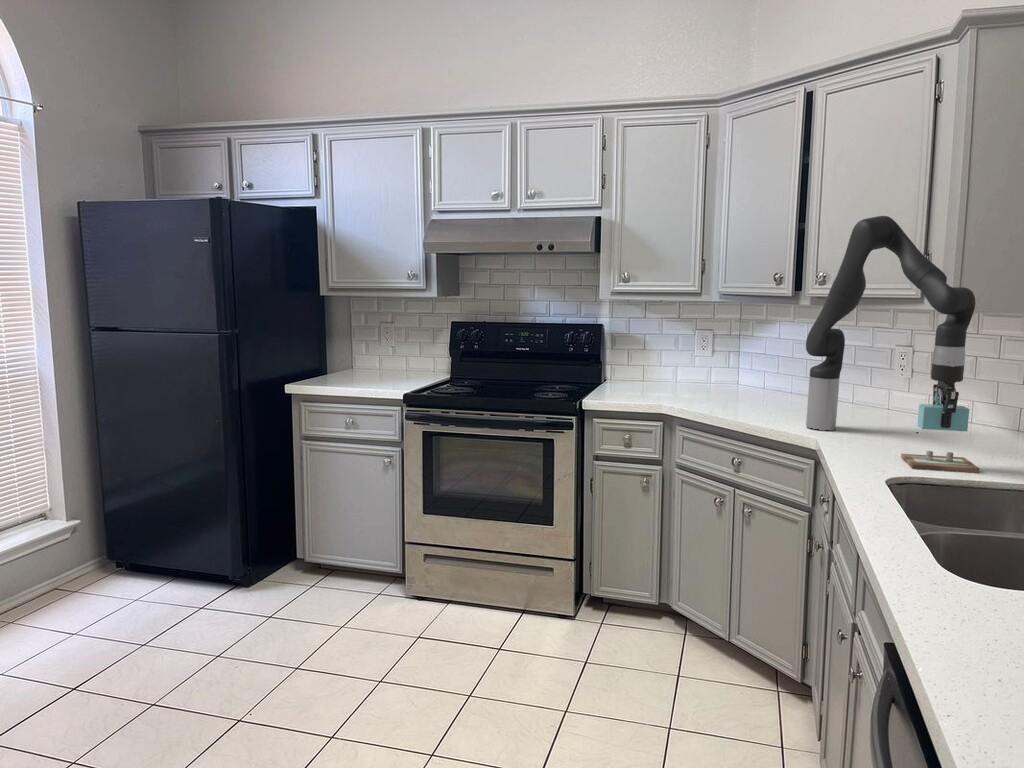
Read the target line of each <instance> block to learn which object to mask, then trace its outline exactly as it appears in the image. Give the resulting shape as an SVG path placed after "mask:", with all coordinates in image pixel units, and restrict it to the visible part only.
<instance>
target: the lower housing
mask: <svg viewBox="0 0 1024 768" xmlns="http://www.w3.org/2000/svg"><path fill="white" fill-rule="evenodd" d="M948 408H950V406H949V405H948ZM941 417H942V406H941V405H933V404H927V403H919V404H918V415H917V425H916V426H917V427H919V429H920V428H921V430H933V431H949V432H950V431H951V432H953V431H954V432H968V428H969V427H968V426H969V419H970V408H968V407H966V406H964V405H957V407H956V412H955V413H953V414H952V416H951V427H950V428H942V427H941Z"/></svg>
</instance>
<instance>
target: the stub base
mask: <svg viewBox="0 0 1024 768" xmlns="http://www.w3.org/2000/svg"><path fill="white" fill-rule="evenodd" d="M900 459H902V461H904V463H906V464H907V465H908V466H909V467H910V468H911V469H912V470H913V469H914V470H926V469H929V470H928V471H940V470H944V471H943V472H955V471H959V472H958V473H970V472H974V473H976V474H980V467H978V466H977V465H975V464H974V463H972V462H971V460H969V459H968V458H966V457H964V456H963V457H962V456H961V457H959V456H954V452H951V451H947V452H946V456H945V455H944V456H943V455H934V451H932V450H926V452H925V454H913V453H901V454H900Z"/></svg>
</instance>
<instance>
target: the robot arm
mask: <svg viewBox="0 0 1024 768" xmlns="http://www.w3.org/2000/svg"><path fill="white" fill-rule="evenodd" d="M885 248H886V249H888V250H889V251H891V252H892V253H894V254H895V255H896V256H897V258H898V260H899V262H900V266H901V269H902V272H903V274H904V276H905V277H906V279H907V280H909V281H910V283H912V284H913V285H914V286H915V287H916V288H917V289H918V290H919V291H921V292H922V293H923V296H924V297H925V298H926V300H927V302H928V303H929V304H930V306H931V307H932V308H933V309H934V310H935V311H936V312H938V313H940V314H944V315H946V318H945V321H943V322H942V323H940V324H938V325H937V327H936V329H935V339H934V347H933V351H932V360H931V361H932V362H931V371H930V379H931V380H933V381H935V382H937V383H936V384H935V383H934V384H933V386H932V389H933V390H932V393H933V394H932V400H933V401H932V405H941V406H942V417H941V427H942V428H950V427H951V416H952V414H953V413H955V412H956V407H957V406H958V400H959V395H960V393H959V391H957V389H956V387H955V386H956V385H955V383H962V381H964V372H965V363H966V341H967V331H968V328H969V325H970V324H971V321H972V318H973V316H974V312H975V309H976V297H975V294H974V292H973V291H972V290H971V289H970V288H968V287H964V286H963V287H960V286H959V287H957V286H955V287H952V286H950V285H949V284H948V283H947V281H948V277H947V275H946V274H945V273H944V272H943V271H942V270H941V269H940V268H939V267H938V266H937V265H935V264H934V263H933V262H932V261H930V259H928V257H926V256H925V255H924V254H923V253H922V251H920V249H918V247H917V246H916V245H915V243H914V242H913V241H912V240H911V239H910V238H909V237H908V234H906V233H905V231H904V230H903V229H902V228H901V226H900V225H899V224H898V223H897V222H896V220H895V219H893V218H891V217H890V216H889V215H878V216H873V217H867V218H863V219H861V220H859V221H858V222H857V223H856V224H855V225H854V226H853V229H852V231H851V234H850V237H849V240H848V243H847V247H846V250H845V253H844V256H843V259H842V261H841V264H840V266H839V268H838V269H839V270H838V272H837V275H836V276H835V278H834V280H833V283H832V285H831V287H830V290H829V291H828V295H827V297H826V299H825V301H824V304H823V306H822V308H821V311H820V312H819V314H818V316H817V318H816V319H815V321H814V323H813V325H812V326H811V328H810V330H809V332H808V334H807V337H806V340H805V351H806V352H807V354H809V356H812V357H821V358H823V357H825V359H824V360H823V361H822V362H821V363H819V364H817V365H814V366H812V367H810V369H809V378H808V379H809V380H808V393H807V406H806V407H807V409H806V421H805V427H806V426H807V427H809V428H808V429H810V428H813V429H812V430H814V429H819V430H818V431H825V430H829V431H835V430H836V428H837V419H838V418H837V417H838V403H839V394H840V393H839V392H840V388H839V387H840V376H841V372H842V370H843V361H844V354H845V353H844V352H845V345H846V339H845V334H844V331H842V329H840V328H833V327H834V326H835V325H836V324H837V323H838V322H839V321H841V320H842V319H843V318H845V317H846V316H847V315H849V314H850V313H852V311H854V310H855V308H857V306H858V305H859V303H860V301H861V300H862V297H863V295H864V293H865V290H866V288H867V283H866V281H867V279H866V276H865V272H864V266H865V263H866V261H867V259H868V256H869V255H870V253H871V252H872V251H874V250H879V249H880V250H881V249H885ZM948 405H949V406H950V408H948ZM807 427H806V428H807ZM834 429H835V430H834Z"/></svg>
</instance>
